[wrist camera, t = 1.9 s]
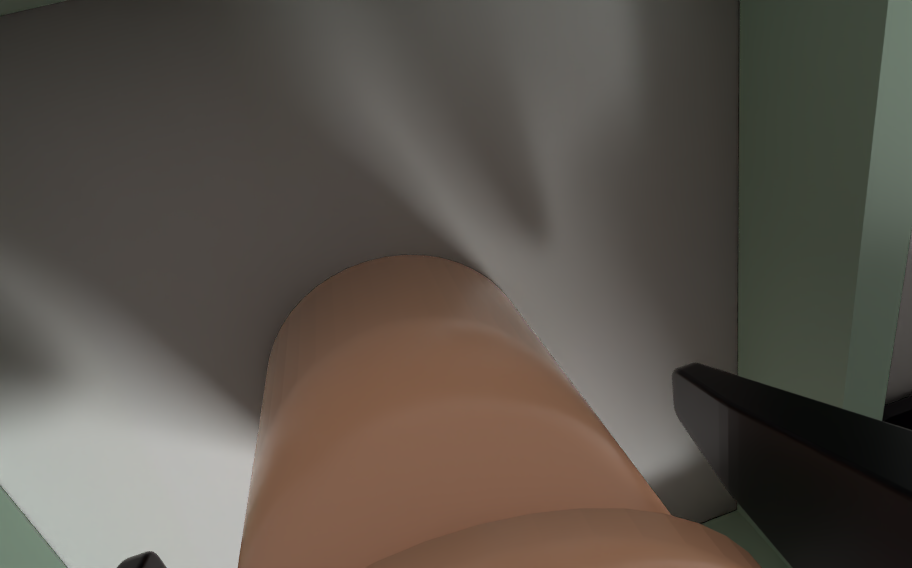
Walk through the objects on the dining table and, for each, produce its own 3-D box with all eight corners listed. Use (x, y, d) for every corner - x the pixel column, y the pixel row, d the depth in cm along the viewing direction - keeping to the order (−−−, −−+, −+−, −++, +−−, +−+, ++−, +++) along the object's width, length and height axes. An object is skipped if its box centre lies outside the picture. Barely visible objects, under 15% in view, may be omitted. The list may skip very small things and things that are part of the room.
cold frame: (796, -244, 9) (1004, -369, 6) (766, 521, 17) (852, 613, 14) (-479, 28, 7) (-990, 19, 4) (169, 752, 15) (136, 910, 12)
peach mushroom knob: (518, 195, 11) (915, 495, 4) (563, 440, 14) (836, 880, 6) (190, 292, 10) (-115, 901, 3) (308, 530, 13) (299, 1137, 6)
